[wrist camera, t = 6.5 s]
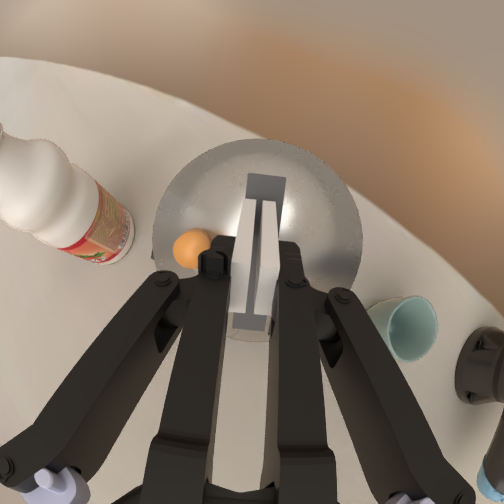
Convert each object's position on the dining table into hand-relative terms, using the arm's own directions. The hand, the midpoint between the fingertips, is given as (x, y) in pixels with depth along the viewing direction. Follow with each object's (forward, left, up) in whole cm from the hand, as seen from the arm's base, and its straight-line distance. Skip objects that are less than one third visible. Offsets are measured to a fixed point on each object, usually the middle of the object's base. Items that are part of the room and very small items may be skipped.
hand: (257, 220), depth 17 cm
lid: (-1, 0, -5) cm, 5 cm away
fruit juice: (+3, +22, -21) cm, 30 cm away
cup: (-6, -19, -21) cm, 29 cm away
